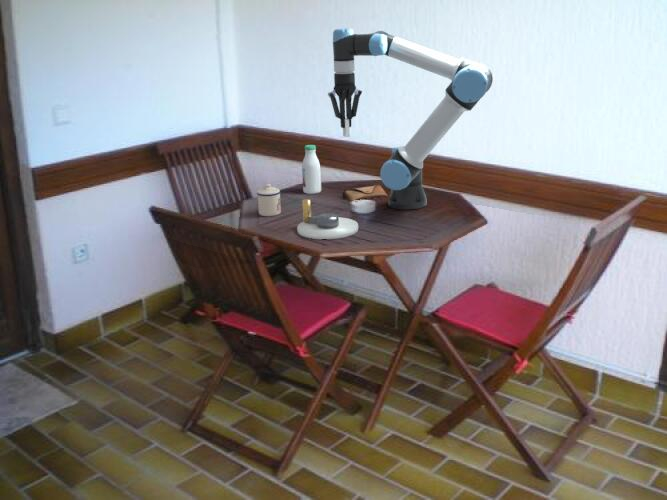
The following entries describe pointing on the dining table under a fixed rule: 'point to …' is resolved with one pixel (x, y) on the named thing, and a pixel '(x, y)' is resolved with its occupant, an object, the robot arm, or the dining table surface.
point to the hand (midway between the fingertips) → (346, 136)
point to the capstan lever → (319, 216)
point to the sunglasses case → (364, 193)
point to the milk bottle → (311, 171)
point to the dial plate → (328, 230)
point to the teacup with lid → (269, 201)
